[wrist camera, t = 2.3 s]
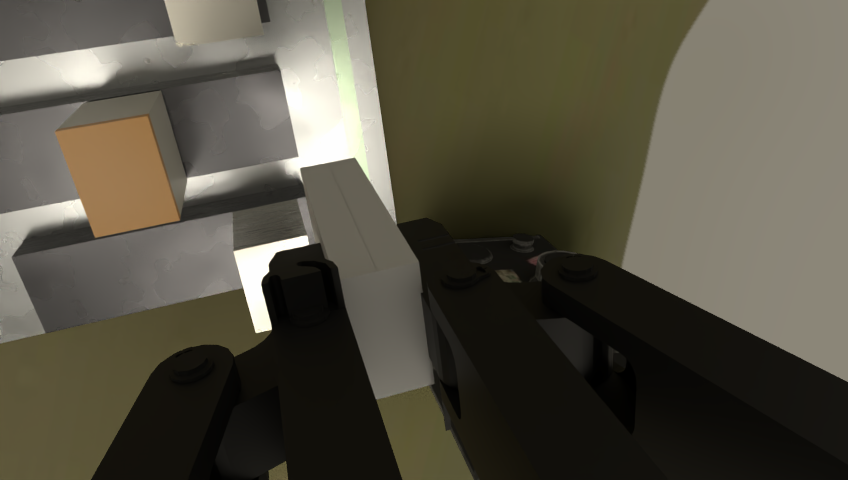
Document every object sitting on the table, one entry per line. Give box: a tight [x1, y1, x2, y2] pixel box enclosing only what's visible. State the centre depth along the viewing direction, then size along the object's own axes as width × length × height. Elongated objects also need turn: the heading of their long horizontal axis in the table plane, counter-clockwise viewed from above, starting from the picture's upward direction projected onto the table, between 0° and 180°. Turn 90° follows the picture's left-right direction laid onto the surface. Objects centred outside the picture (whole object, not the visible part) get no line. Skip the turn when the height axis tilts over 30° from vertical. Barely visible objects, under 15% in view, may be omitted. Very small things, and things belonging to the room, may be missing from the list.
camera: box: [429, 234, 626, 480], centre depth 33 cm, size 10×10×15 cm
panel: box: [0, 0, 397, 343], centre depth 27 cm, size 22×18×8 cm
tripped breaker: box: [55, 90, 187, 238], centre depth 24 cm, size 3×4×5 cm
